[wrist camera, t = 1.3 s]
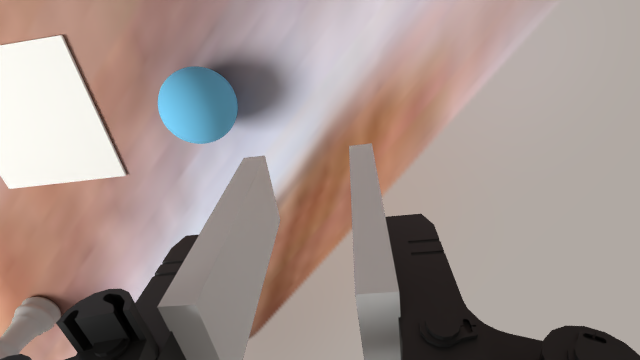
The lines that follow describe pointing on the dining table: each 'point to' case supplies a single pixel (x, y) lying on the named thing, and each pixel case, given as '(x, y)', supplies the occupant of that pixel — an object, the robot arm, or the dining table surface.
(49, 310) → the rook chess piece
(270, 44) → the dining table surface
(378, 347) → the robot arm
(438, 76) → the dining table surface
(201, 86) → the ball
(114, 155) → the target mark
